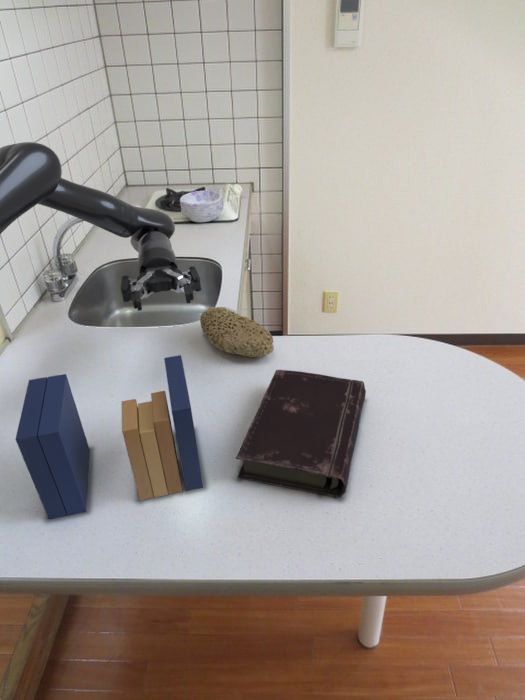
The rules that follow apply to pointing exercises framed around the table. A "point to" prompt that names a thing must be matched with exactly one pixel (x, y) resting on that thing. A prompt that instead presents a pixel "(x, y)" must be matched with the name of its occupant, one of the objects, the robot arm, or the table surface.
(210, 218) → the paper bowls
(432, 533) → the table surface
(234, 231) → the table surface
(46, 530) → the table surface
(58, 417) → the navy book pair
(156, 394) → the tan books
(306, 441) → the diary
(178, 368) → the navy book
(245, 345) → the sponge
